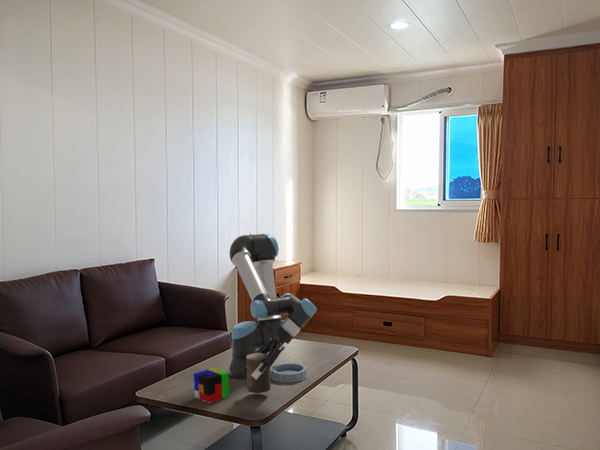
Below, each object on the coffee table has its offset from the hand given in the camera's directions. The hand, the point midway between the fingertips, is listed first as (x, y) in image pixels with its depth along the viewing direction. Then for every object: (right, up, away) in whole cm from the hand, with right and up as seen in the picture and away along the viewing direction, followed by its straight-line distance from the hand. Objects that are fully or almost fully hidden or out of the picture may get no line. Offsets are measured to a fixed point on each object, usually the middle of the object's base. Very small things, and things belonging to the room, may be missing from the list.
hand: (251, 373), depth 209 cm
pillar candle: (+3, -7, +1) cm, 8 cm away
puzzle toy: (-16, -10, +1) cm, 19 cm away
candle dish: (+15, -8, +24) cm, 29 cm away
